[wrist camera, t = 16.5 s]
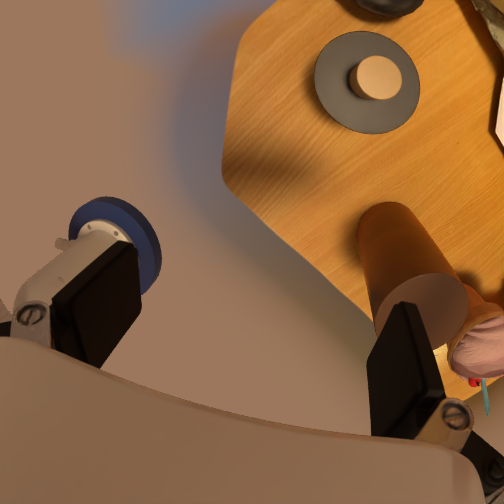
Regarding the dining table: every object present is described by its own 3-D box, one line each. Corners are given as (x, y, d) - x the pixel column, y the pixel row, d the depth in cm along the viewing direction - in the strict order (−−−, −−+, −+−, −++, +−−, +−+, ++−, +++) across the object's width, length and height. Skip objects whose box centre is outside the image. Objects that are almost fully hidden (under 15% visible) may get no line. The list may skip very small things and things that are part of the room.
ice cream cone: (484, 311, 41) (529, 402, 24) (428, 330, 45) (458, 430, 27) (486, 256, 37) (550, 344, 20) (423, 275, 41) (468, 379, 23)
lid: (306, 119, 28) (304, 124, 22) (321, 24, 23) (322, 5, 17) (405, 144, 27) (426, 155, 21) (422, 51, 22) (446, 41, 16)
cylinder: (348, 256, 42) (360, 348, 26) (365, 194, 38) (397, 263, 22) (406, 269, 41) (441, 359, 25) (427, 210, 37) (484, 283, 21)
